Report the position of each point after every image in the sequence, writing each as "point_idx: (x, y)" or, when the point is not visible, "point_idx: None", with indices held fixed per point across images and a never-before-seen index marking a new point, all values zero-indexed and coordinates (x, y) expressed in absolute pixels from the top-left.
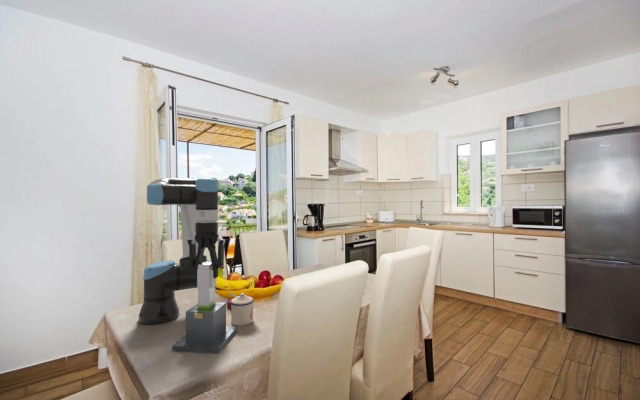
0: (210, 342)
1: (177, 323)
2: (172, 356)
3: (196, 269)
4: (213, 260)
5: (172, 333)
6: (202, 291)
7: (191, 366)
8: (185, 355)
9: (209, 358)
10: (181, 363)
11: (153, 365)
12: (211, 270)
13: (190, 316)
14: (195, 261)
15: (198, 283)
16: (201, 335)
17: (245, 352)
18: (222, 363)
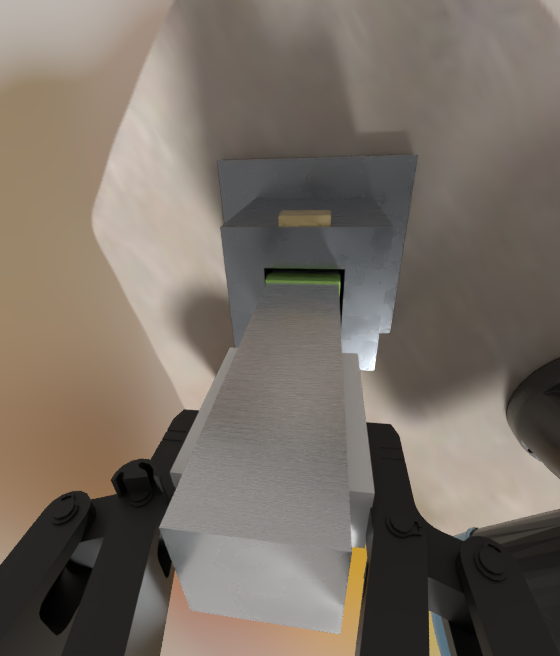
0: (266, 199)
1: (486, 363)
2: (389, 107)
3: (395, 502)
4: (91, 615)
5: (473, 289)
6: (304, 323)
7: (270, 38)
8: (338, 124)
9: (233, 117)
10: (323, 55)
11: (440, 10)
12: (185, 465)
13: (359, 220)
14: (458, 651)
15: (339, 361)
16: (301, 202)
17: (133, 182)
18: (166, 87)
